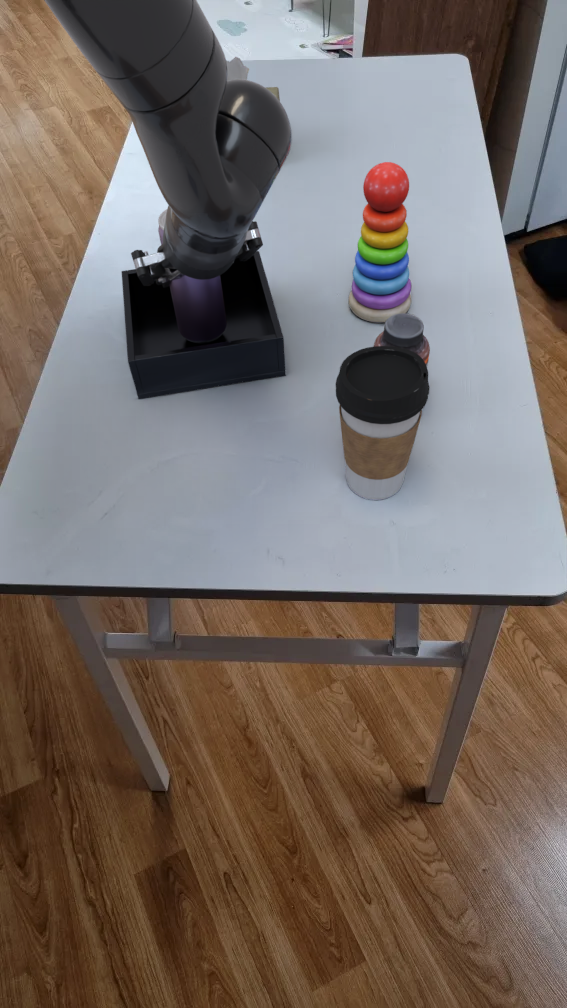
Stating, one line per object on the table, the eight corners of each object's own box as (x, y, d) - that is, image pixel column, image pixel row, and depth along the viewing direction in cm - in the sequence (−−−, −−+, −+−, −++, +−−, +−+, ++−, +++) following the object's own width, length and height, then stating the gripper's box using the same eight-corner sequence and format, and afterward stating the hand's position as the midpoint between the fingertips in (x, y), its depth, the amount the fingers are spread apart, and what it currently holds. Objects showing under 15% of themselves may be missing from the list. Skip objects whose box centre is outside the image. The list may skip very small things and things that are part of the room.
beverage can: (225, 344, 87) (209, 231, 75) (177, 346, 87) (153, 233, 76) (228, 314, 91) (213, 201, 79) (181, 315, 91) (159, 203, 79)
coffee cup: (406, 517, 72) (422, 410, 60) (325, 500, 74) (324, 393, 62) (422, 456, 77) (439, 346, 65) (345, 442, 79) (348, 332, 67)
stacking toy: (344, 290, 95) (347, 149, 81) (404, 285, 96) (418, 142, 81) (353, 328, 91) (358, 185, 76) (416, 322, 91) (433, 178, 76)
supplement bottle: (370, 425, 80) (376, 344, 71) (366, 388, 84) (371, 307, 75) (424, 423, 80) (437, 342, 71) (418, 386, 84) (429, 305, 75)
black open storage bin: (138, 399, 84) (127, 361, 80) (131, 309, 95) (121, 270, 91) (285, 376, 86) (283, 337, 81) (262, 289, 96) (259, 250, 92)
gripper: (265, 172, 69) (239, 225, 85) (118, 206, 66) (120, 254, 83) (287, 250, 70) (257, 288, 86) (143, 287, 67) (140, 319, 84)
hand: (190, 271), depth 84 cm, fingers closed on beverage can, 6 cm apart
